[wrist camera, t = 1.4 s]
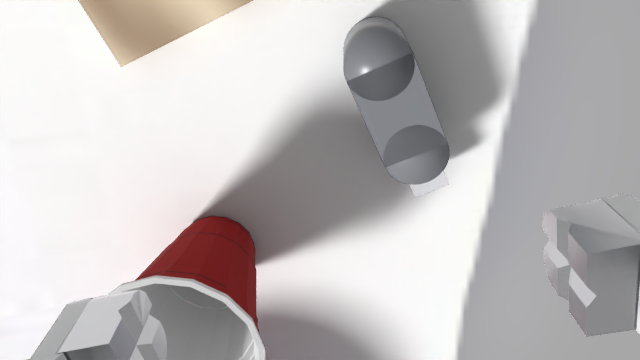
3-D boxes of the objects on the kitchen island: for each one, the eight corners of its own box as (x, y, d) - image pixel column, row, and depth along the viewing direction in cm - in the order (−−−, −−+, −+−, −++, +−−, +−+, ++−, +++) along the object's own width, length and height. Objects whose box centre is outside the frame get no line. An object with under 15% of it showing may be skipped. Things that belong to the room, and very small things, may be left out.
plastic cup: (275, 177, 37) (247, 281, 26) (295, 293, 42) (278, 420, 31) (133, 189, 38) (50, 293, 27) (169, 300, 43) (110, 426, 32)
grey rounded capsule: (392, 5, 31) (399, 18, 27) (452, 161, 36) (466, 191, 32) (333, 33, 32) (332, 49, 28) (399, 181, 37) (406, 213, 33)
